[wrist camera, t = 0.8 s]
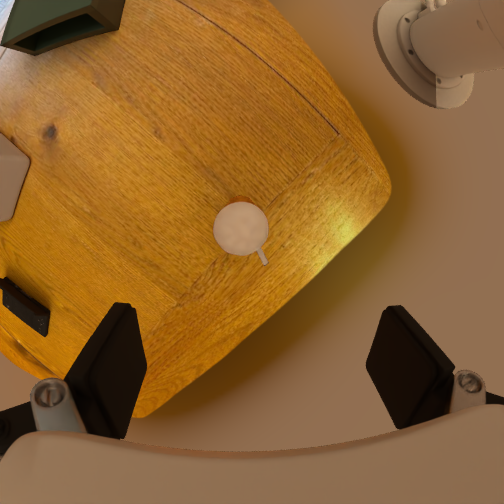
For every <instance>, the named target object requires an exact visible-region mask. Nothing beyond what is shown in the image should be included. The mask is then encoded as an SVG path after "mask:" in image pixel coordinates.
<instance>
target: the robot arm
mask: <svg viewBox="0 0 504 504" xmlns="http://www.w3.org/2000/svg"><path fill="white" fill-rule="evenodd" d="M435 2H436V7H437V9H435V8H434V1H433V0H425V4H426V6H427V8H426V9H425V10H423V11H410V12H407V13H406V14H404V15H403V16H402V17H401V18H400V19H399V21H398V24H397V30H396V31H397V39H398V42H399V46H400V48H401V50H402V53H403V55H404V56H405V58H406V60H407V61H408V63H409V64H410V66H411V67H412V68H413V69H414V70H415V72H416V73H417V74H418V75H419V76H420V77H421V78H423V79H424V80H425V81H427V82H428V83H429V84H431V85H433V86H435V87H438V88H442V89H450V88H455V87H457V86H459V85H460V84H461V83H462V81H463V79H464V77H465V75H466V74H472V73H477V72H483V71H490V70H497V69H504V0H453V1H451V2H449V3H447V1H446V0H435ZM366 369H367V371H368V373H369V375H370V377H371V379H372V381H373V383H374V385H375V387H376V389H377V391H378V393H379V395H380V396H381V398H382V401H383V402H384V404H385V406H386V408H387V410H388V412H389V414H390V416H391V419H392V420H393V423H394V425H395V427H396V428H397V429H400V430H397V431H393V432H390V433H386V434H382V435H378V436H374V437H369V438H364V439H360V440H355V441H349V442H344V443H338V444H332V445H326V446H318V447H310V448H301V449H290V450H277V451H252V452H225V451H202V450H188V449H178V448H170V447H161V446H154V445H146V444H140V443H134V442H129V441H123V440H120V438H121V439H124V438H125V436H126V433H127V429H128V426H129V423H130V419H131V416H132V413H133V410H134V407H135V404H136V401H137V398H138V394H139V391H140V388H141V385H142V382H143V380H144V377H145V374H146V370H147V362H146V358H145V353H144V349H143V344H142V339H141V334H140V329H139V324H138V319H137V313H136V309H135V308H132V307H131V304H129V303H118V302H115V303H114V304H113V306H112V307H111V308H110V310H109V311H108V313H107V314H106V316H105V317H104V318H103V320H102V321H101V323H100V324H99V326H98V327H97V329H96V330H95V332H94V333H93V335H92V336H91V337H90V339H89V340H88V342H87V343H86V345H85V346H84V348H83V349H82V351H81V352H80V354H79V355H78V357H77V359H76V360H75V362H74V363H73V365H72V367H71V368H70V370H69V372H68V373H67V375H66V377H65V378H64V380H61V379H58V378H47V379H44V380H41V381H40V382H38V383H37V384H36V385H35V386H34V387H33V389H32V391H31V394H30V401H29V402H27V403H24V404H21V405H18V406H15V407H13V408H9V409H6V410H4V411H0V504H504V397H501V396H498V395H494V394H492V393H489V392H486V389H485V383H484V381H483V379H482V378H481V377H480V376H479V375H478V374H477V373H475V372H473V371H470V370H461V371H458V372H457V373H456V374H455V376H454V374H453V373H452V372H453V370H454V369H455V366H454V364H453V363H452V362H451V361H450V359H449V358H448V357H447V356H446V355H445V353H444V352H443V351H442V350H441V349H440V348H439V346H437V344H436V343H435V342H434V341H433V339H432V338H431V337H430V336H429V335H428V334H427V333H426V331H425V330H424V329H423V328H422V327H421V326H420V325H419V324H418V323H417V321H416V320H415V319H414V318H413V317H412V316H411V315H410V314H409V313H408V312H407V311H406V310H405V308H404V307H403V306H401V305H398V306H397V305H396V306H388V307H387V308H386V310H384V311H383V312H382V315H381V319H380V322H379V325H378V328H377V331H376V335H375V337H374V340H373V343H372V346H371V349H370V352H369V355H368V358H367V361H366Z"/></svg>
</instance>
